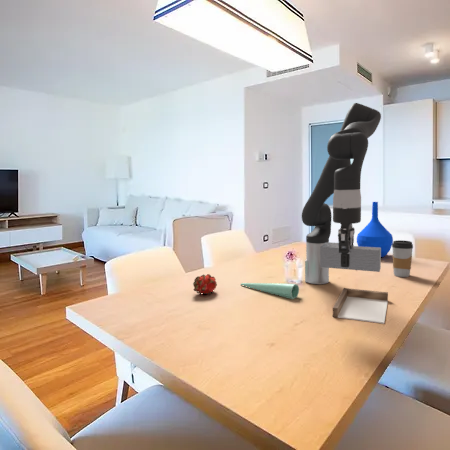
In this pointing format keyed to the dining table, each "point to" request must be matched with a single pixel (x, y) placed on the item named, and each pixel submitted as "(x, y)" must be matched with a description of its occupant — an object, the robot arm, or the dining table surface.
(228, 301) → the dining table surface
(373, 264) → the bracket
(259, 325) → the dining table surface
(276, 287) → the mint green cone
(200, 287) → the dragon fruit
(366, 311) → the mat
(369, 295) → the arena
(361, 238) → the vase
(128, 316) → the dining table surface
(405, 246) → the coffee cup
